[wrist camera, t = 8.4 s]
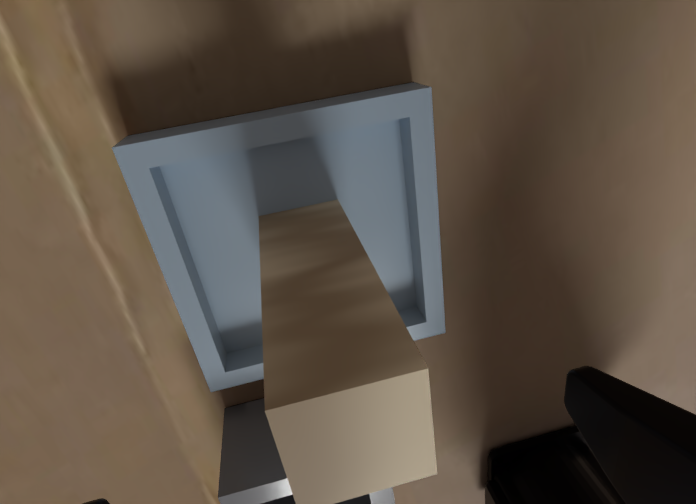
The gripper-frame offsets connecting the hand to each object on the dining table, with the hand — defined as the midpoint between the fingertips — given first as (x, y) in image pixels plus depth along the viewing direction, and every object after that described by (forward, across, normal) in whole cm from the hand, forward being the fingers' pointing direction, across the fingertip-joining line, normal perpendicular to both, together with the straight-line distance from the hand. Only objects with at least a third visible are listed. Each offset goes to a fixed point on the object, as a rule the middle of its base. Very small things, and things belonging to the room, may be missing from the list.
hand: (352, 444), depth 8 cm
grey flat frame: (+10, 0, 0) cm, 10 cm away
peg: (+10, 0, 0) cm, 10 cm away
